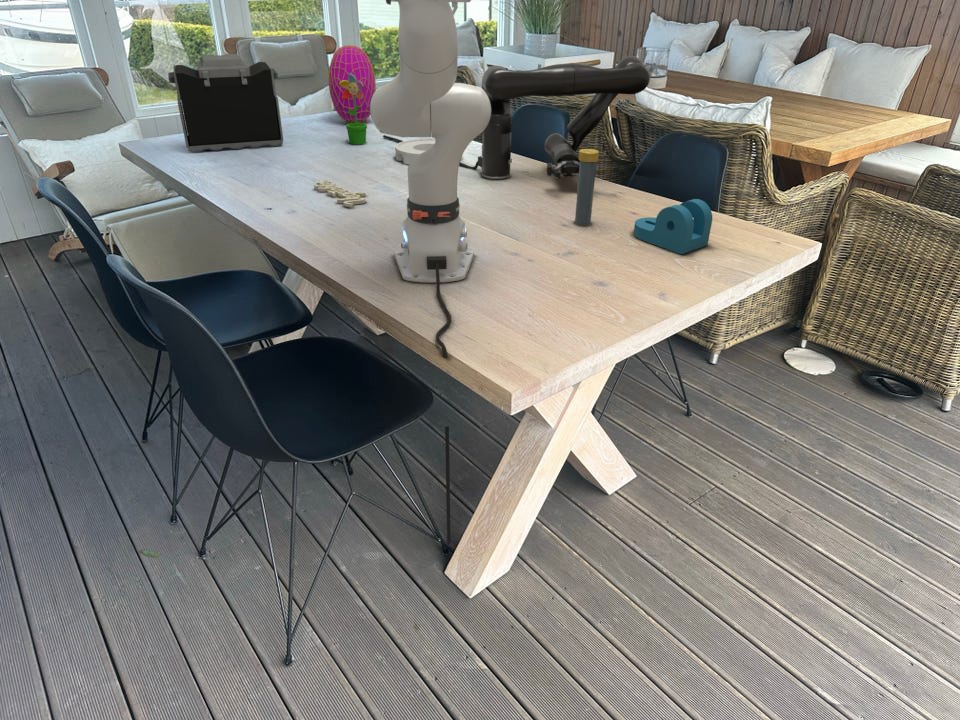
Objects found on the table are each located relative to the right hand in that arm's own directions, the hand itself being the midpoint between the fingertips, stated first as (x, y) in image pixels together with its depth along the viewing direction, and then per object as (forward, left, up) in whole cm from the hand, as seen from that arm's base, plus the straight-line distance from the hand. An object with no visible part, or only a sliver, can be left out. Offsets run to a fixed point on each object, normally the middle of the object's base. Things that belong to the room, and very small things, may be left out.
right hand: (573, 175), depth 201 cm
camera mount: (+39, +3, -7) cm, 40 cm away
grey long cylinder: (+19, -9, -7) cm, 22 cm away
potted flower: (-93, -36, -7) cm, 100 cm away
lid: (+19, -9, +12) cm, 24 cm away
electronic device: (-112, -78, -7) cm, 137 cm away
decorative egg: (-129, -26, -7) cm, 132 cm away
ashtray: (-62, -20, -7) cm, 65 cm away
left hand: (-4, -43, +41) cm, 59 cm away
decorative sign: (-33, -60, -7) cm, 69 cm away
